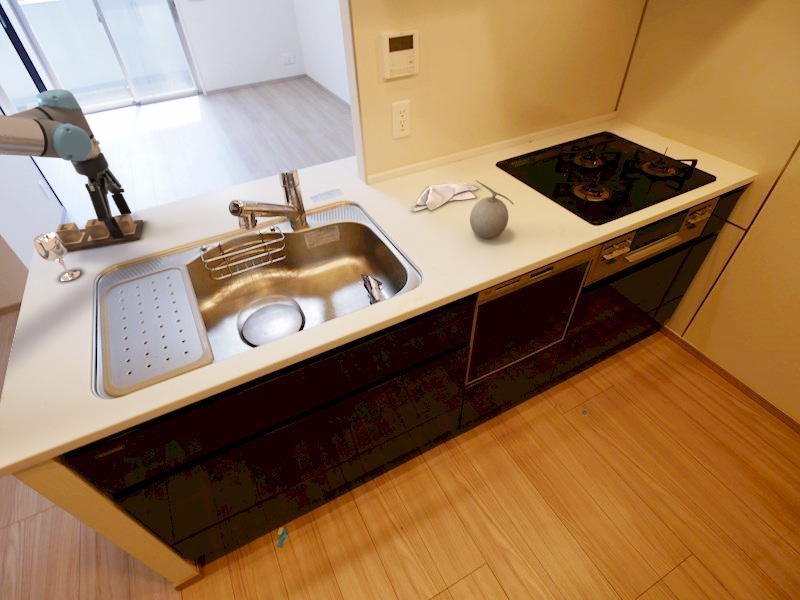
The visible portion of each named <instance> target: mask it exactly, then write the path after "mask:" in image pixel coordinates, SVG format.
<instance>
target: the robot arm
mask: <svg viewBox="0 0 800 600" xmlns="http://www.w3.org/2000/svg"><path fill="white" fill-rule="evenodd" d="M35 99H36V100H35V101H36V102H37V106H35V107H32V108H30V109H26V110H23V111H20V112H16V113H13V114H10V115H4V114H0V156H1V155H3V156H22V157H23V156H24V157H38V158H49V159H51V158H52V159H53V158H54V159H61V160H64V161H68V162H70V163H71V165H72V166H73V168H74V170H75V172H76V173H77V174H78V175H80V176H84V177H87V183H85V184H84V186H85V188H86V190H87V192H88V195H89V197H90V201H91V204H92V207H93V209H94V212H95V215H96V219H98V221H99V222H102V221H104V223H105V225H106V227H107V229H108V230H109V232H110V234H111V236H112V238H113V239H120V238H124V237H125V236H124V234H123V233H122V231H121V229H120V227H119V225H118V223H117V221H116V219H115V218H114V217H115V216H113V213H112V211H111V206H110V203H109V197H108V194H109V193H110V194H111V198H112V200H113V202H114V204H115V206H116V208H117V209H118V211H119V213H120V215H124V214H130V215H132V211H131V209H130V207H129V205H128V202H127V200H126V198H125V197H124V195H123V193H125V188H122V184H121V183H120V182H119V180H118V179H117V178H116V176H115V175H114V173H113V172H112V170H110V168H109V162H108V160H107V158H106V156H105V155H104V153H103V152H102V149H101V147H100V143H101V142H100V141H99V140H97V139H96V137H95V135H94V133H93V131H92V128H91V127H90V125H89V123H88V120H87V118H86V116H85V114H84V112H83V109H82V107H81V105H80V104H79V102H78V101H77V99H76V98H75V96H74V94H73V93H72V92H71V91H70V90H67V89H62V88H57V89H56V88H55V89H49V90H44V91H42V92H40V93H37V94H36V96H35Z"/></svg>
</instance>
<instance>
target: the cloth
mask: <svg viewBox="0 0 800 600" xmlns="http://www.w3.org/2000/svg"><path fill="white" fill-rule="evenodd" d="M475 190H478V188H477V187H476V186H475V185H473V183H472V182H462V183H459V182H458V183H457V182H455V183H454V182H453V183H442V184H430V185H429V187H427V188H426V189H425V190H424V191H423V193H422V194H421V196H420V197H419V198H418V200H417V201H416V202H415V203H414V205H413V206H412V211H413V212H418V211H422V210H425V209H428V210H429V211H433V210H435V209H437V208H440V207H441V206H443V205H444V204H445V203H448V202H452V201H453V202H454V201H465V200H471V199H475V198H476V196H475V195H474V194H473V191H475Z"/></svg>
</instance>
